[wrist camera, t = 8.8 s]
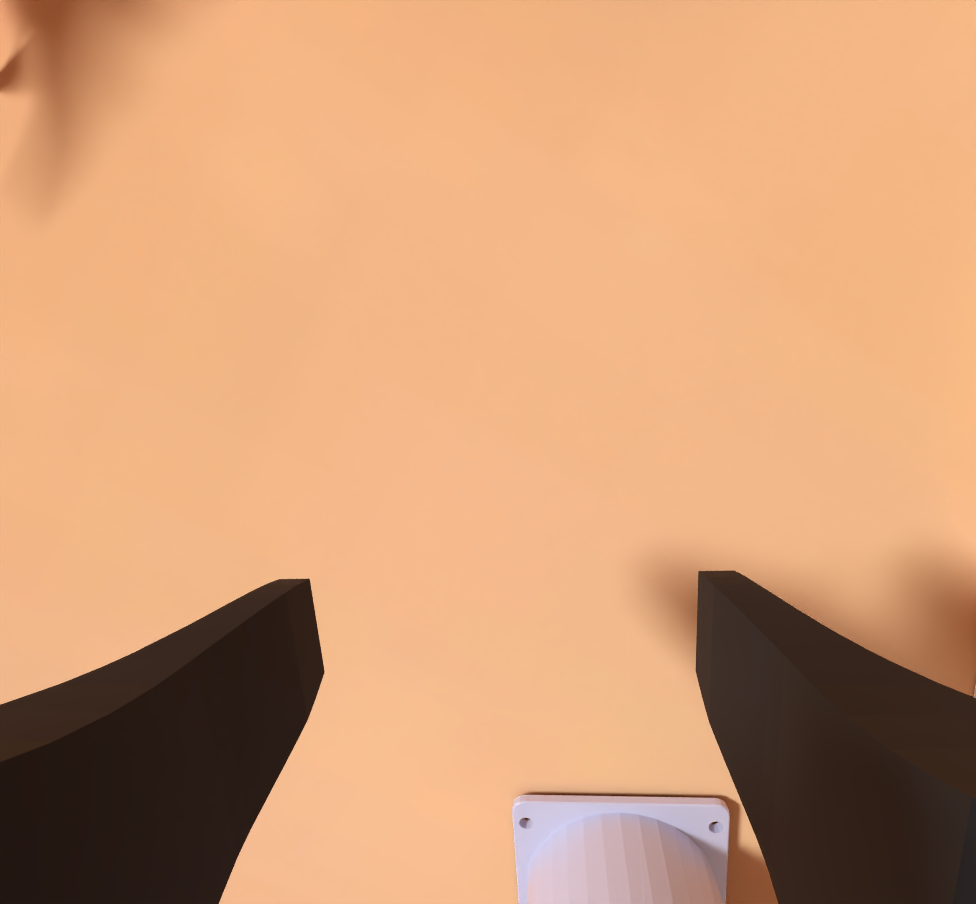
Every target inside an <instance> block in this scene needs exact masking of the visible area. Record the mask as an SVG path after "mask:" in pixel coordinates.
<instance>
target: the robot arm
mask: <svg viewBox="0 0 976 904" xmlns="http://www.w3.org/2000/svg"><path fill="white" fill-rule="evenodd" d="M696 674H697V678H698V682H699V686H700V690H701V694H702V698H703V701H704V705H705V709H706V712H707V716H708V720H709V723H710V725H711V728H712V730H713V733H714V735H715V738H716V740H717V743H718V745H719V748H720V750H721V753H722V755H723V758H724V760H725V763H726V765H727V767H728V770H729V772H730V775H731V777H732V780H733V782H734V784H735V787H736V789H737V792H738V794H739V797H740V799H741V801H742V804H743V806H744V809H745V811H746V814H747V816H748V818H749V821H750V823H751V826H752V828H753V831H754V833H755V835H756V838H757V840H758V843H759V846H760V848H761V851H762V854H763V857H764V859H765V862H766V865H767V868H768V870H769V873H770V877H771V880H772V883H773V887H774V890H775V893H776V897H777V900H778V903H779V904H976V698H974V697H972V696H969V695H966V694H964V693H961V692H959V691H956V690H954V689H951V688H949V687H947V686H944V685H942V684H939V683H937V682H935V681H932V680H930V679H928V678H926V677H924V676H921V675H919V674H917V673H915V672H913V671H910V670H908V669H906V668H904V667H902V666H899V665H897V664H895V663H893V662H891V661H889V660H887V659H885V658H883V657H881V656H879V655H877V654H875V653H873V652H871V651H869V650H867V649H865V648H863V647H861V646H860V645H858V644H856V643H854V642H852V641H850V640H849V639H847V638H845V637H843V636H841V635H839V634H838V633H836V632H834V631H832V630H831V629H829V628H827V627H826V626H824V625H822V624H820V623H819V622H817V621H815V620H814V619H812V618H810V617H809V616H807V615H806V614H804V613H802V612H801V611H799V610H797V609H796V608H794V607H793V606H791V605H789V604H788V603H786V602H785V601H783V600H782V599H780V598H778V597H777V596H775V595H774V594H772V593H771V592H769V591H768V590H766V589H764V588H763V587H761V586H760V585H758V584H757V583H755V582H753V581H752V580H750V579H748V578H747V577H745V576H743V575H742V574H740V573H738V572H736V571H699V575H698V610H697V644H696ZM323 675H324V666H323V660H322V653H321V647H320V641H319V635H318V629H317V622H316V616H315V610H314V604H313V597H312V591H311V585H310V579H279V580H276V581H273V582H271V583H268V584H266V585H264V586H262V587H259V588H257V589H255V590H253V591H251V592H249V593H248V594H246V595H244V596H242V597H240V598H238V599H236V600H234V601H232V602H231V603H229V604H227V605H225V606H223V607H221V608H219V609H218V610H216V611H214V612H212V613H210V614H208V615H207V616H205V617H203V618H201V619H199V620H197V621H195V622H194V623H192V624H190V625H188V626H186V627H184V628H182V629H180V630H178V631H176V632H174V633H172V634H170V635H168V636H166V637H164V638H162V639H160V640H158V641H156V642H154V643H152V644H150V645H148V646H146V647H144V648H142V649H140V650H138V651H136V652H134V653H132V654H130V655H128V656H126V657H123V658H121V659H119V660H117V661H114V662H112V663H110V664H108V665H105V666H103V667H101V668H98V669H96V670H93V671H91V672H89V673H86V674H84V675H81V676H79V677H76V678H74V679H72V680H69V681H66V682H64V683H61V684H59V685H56V686H53V687H50V688H47V689H45V690H42V691H39V692H36V693H33V694H30V695H27V696H24V697H22V698H19V699H16V700H13V701H10V702H7V703H4V704H1V705H0V904H219V901H220V899H221V896H222V894H223V891H224V889H225V887H226V884H227V882H228V879H229V877H230V874H231V872H232V869H233V867H234V864H235V862H236V859H237V857H238V855H239V853H240V851H241V849H242V846H243V844H244V842H245V840H246V838H247V836H248V834H249V832H250V830H251V828H252V826H253V824H254V822H255V820H256V818H257V816H258V814H259V812H260V811H261V809H262V807H263V805H264V803H265V801H266V799H267V797H268V795H269V793H270V792H271V790H272V788H273V786H274V784H275V782H276V780H277V778H278V776H279V774H280V773H281V771H282V769H283V767H284V765H285V763H286V761H287V759H288V757H289V755H290V753H291V752H292V750H293V748H294V746H295V744H296V742H297V740H298V738H299V736H300V734H301V732H302V730H303V728H304V726H305V724H306V722H307V720H308V718H309V715H310V712H311V709H312V707H313V704H314V701H315V699H316V696H317V693H318V690H319V687H320V684H321V681H322V678H323ZM512 815H513V830H514V844H515V858H516V873H517V887H518V901H519V904H726V887H727V867H728V847H729V827H730V813H729V809H728V807H727V804H726V803H725V802H724V801H723V800H721V799H718V798H691V797H632V796H572V795H520V796H518V797H516V798H515V800H514V801H513V807H512ZM522 818H529V819H530V820H524V819H522ZM712 822H718V823H716V824H711V823H712Z"/></svg>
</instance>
